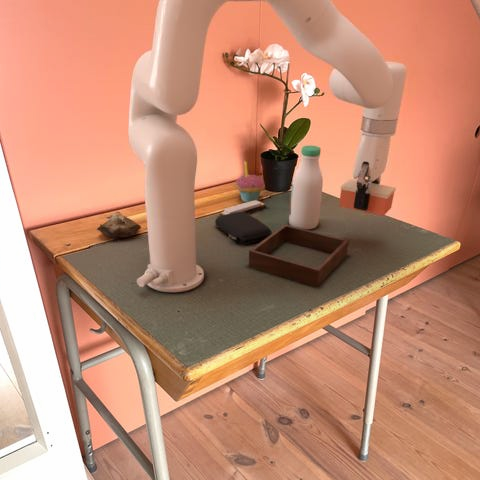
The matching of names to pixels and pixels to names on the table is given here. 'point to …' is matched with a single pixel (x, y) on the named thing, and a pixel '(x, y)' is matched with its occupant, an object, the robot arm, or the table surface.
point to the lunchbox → (377, 201)
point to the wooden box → (293, 269)
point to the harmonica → (245, 207)
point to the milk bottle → (306, 190)
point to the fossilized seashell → (119, 226)
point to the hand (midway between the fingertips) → (365, 203)
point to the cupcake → (249, 186)
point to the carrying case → (243, 227)
